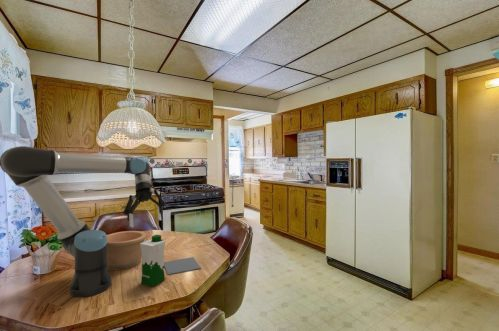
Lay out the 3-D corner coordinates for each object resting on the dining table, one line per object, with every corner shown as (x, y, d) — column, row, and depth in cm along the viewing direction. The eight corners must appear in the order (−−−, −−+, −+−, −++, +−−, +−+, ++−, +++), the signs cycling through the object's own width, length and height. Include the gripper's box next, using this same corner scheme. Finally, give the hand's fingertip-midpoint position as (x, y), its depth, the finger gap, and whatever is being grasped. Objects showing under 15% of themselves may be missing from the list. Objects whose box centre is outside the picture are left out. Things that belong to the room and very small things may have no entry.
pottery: (112, 276, 118) (111, 246, 118) (92, 264, 132) (92, 237, 131) (154, 262, 135) (154, 235, 135) (133, 253, 149) (133, 228, 149)
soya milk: (167, 279, 115) (167, 236, 115) (151, 288, 107) (151, 241, 107) (154, 275, 119) (153, 233, 119) (137, 284, 111) (137, 238, 111)
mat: (167, 275, 120) (167, 274, 120) (163, 263, 134) (163, 262, 134) (200, 268, 127) (200, 267, 127) (193, 257, 141) (193, 257, 141)
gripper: (169, 181, 137) (173, 218, 127) (122, 193, 135) (123, 231, 125) (164, 175, 131) (169, 214, 121) (115, 187, 128) (115, 228, 118)
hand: (145, 223), depth 123 cm, fingers open, 13 cm apart
